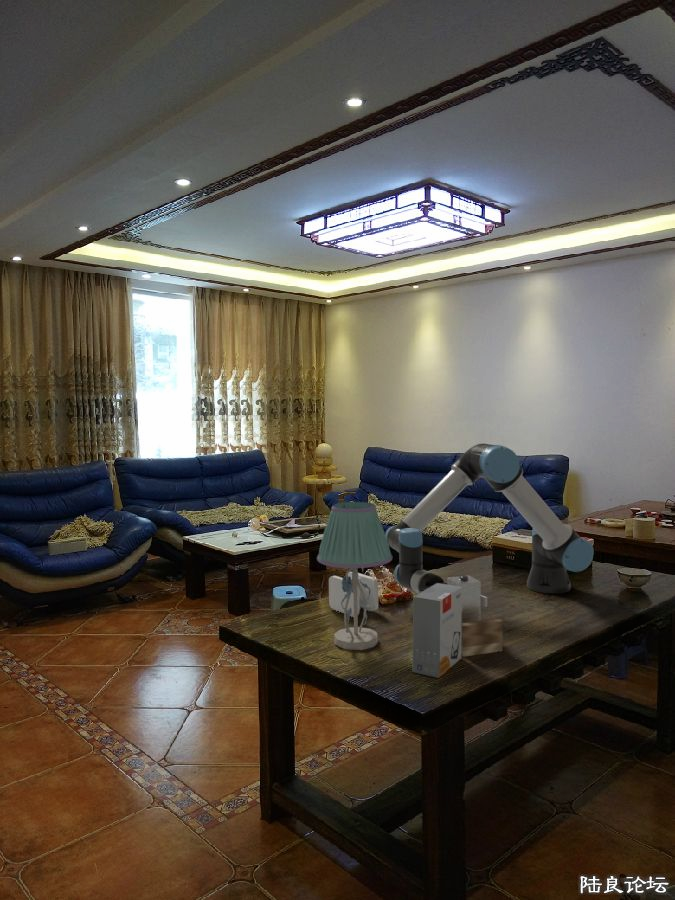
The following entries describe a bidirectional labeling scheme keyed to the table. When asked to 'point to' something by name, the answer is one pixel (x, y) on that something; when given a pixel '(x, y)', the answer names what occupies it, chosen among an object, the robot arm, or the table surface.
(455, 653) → the hard drive box
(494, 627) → the dock
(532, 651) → the table surface
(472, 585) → the block
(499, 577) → the table surface
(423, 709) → the table surface
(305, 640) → the table surface
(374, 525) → the table lamp
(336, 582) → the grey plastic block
